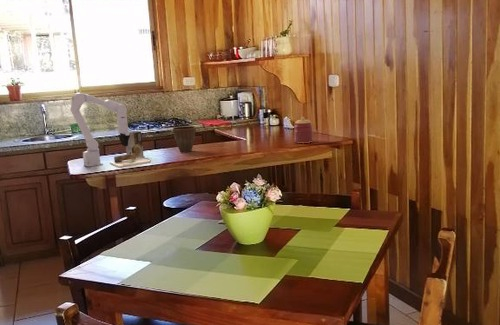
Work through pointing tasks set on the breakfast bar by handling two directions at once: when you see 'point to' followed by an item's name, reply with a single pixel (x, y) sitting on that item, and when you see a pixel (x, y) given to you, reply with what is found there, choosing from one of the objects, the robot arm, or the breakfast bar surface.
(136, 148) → the coffee box
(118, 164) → the dial board
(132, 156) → the tuning peg
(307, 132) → the canister
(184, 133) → the plant pot
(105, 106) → the robot arm
